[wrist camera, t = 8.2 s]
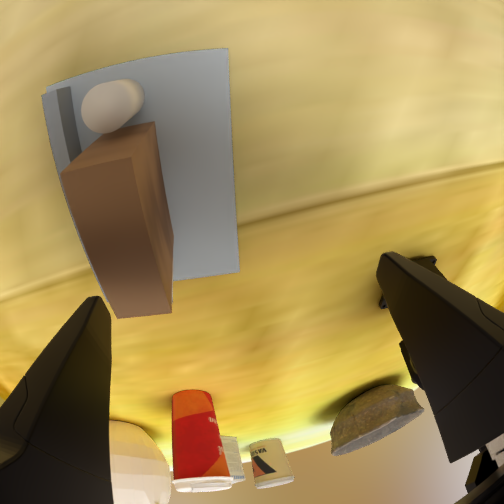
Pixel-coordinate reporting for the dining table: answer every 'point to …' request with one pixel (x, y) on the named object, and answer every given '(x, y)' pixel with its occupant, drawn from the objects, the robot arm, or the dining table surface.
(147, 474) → the white vase
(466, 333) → the robot arm
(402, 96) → the dining table surface
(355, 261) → the dining table surface
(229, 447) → the light bulb box
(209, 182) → the wall panel
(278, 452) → the coffee cup
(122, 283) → the brown box shape
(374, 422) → the bowl
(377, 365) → the dining table surface
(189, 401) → the paper cup
